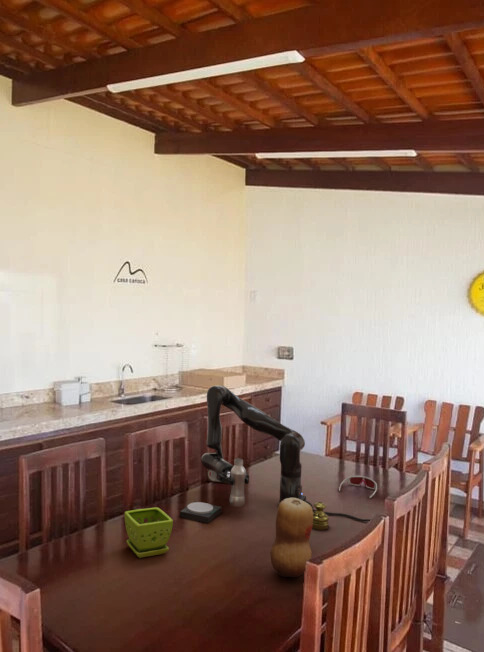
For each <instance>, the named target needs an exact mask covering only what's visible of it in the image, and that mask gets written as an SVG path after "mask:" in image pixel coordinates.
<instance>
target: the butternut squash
mask: <svg viewBox="0 0 484 652" xmlns="http://www.w3.org/2000/svg"><path fill="white" fill-rule="evenodd" d="M313 513H314V512H313V510H312V507H311V506H310V505H309V504H308V503H306V502H305V501H302V500H300V499H297V498H286V499H284V500H283V501H281V503H280V504H279V503H278V507H277V511H276V517H275V538H274V541H273V543H272V546H271V548H270V551H269V555H270V556H269V557H270V563H271V565H272V568H273V569H274V571H275V572H276V573H277V574H278V575H279V576H281V577H285V578H287V577H288V578H298V577H300V576H303V575H305V574H304V571H305V563H306V561H307V560H309V559H311V558H313V557H312V554H313V553H312V549H311V545H310V539H311V534H312V529H313V528H312V526H313Z"/></svg>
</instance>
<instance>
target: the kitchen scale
mask: <svg viewBox="0 0 484 652" xmlns="http://www.w3.org/2000/svg"><path fill="white" fill-rule="evenodd" d="M222 510H223V506H219V505H216V504H210V503H206V502H201V501H196V500H194V501H193V502H191V503H188V505H187V506H185V507H184V508H183V509H181V510H180V511H179V517H180V518H183V519H187V520H192V521H197V522H201V523H205V524H209V523H210V522H212V521H213V520H214V519H216V518H217V517H218V516H219V515H220V514H221V513H222Z"/></svg>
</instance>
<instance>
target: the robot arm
mask: <svg viewBox="0 0 484 652" xmlns="http://www.w3.org/2000/svg"><path fill="white" fill-rule="evenodd" d="M206 405H207V432H206V433H207V435H206V447H207V448H209V449H213V450H214V452H205V453H204V454H202V456H201V459H200V460H201V465H202V466H203V468H204V469H206V470H207V469H208V470H211V471H214V472H215V473H217V480H219V481H221V482H220V483H222V484H229V485H230V486H232V485H234V480H233V479H232V478H231V470H232V468H233V467H234V464H231V463H230V462H229V461H227V460H225V458H224V454H223V447H222V440H223V439H222V437H223V436H222V435H223V426H222V422H221V407H222V406H223V407H225V408H227V409H229V410H231V411H232V412H233V413H234V414H235V415H236V416H237V417H238V418H239V420H241V422H242V423H244V424H245V425H246V426H248V427H249V428H251V429H252V430H255V432H258V433H261V434H265V435H268V436H270V437H273V438H274V439H276V440H277V441H279V442H280V443H279V462H280V463H279V464H280V477H279V479H280V480H279V500H278V502H279V503H278V505H279V504H280V503H281V501H283V500H284V499H286V498H296V492H298V499H300V500H302V501H305V502H306V503H308V504H309V505H310V506H311V507H312V510H313V513H314V512H315V511H316V509H314V505H313V504H312V503H311V502H309V501H308V500H307V496H306V495H303V485H302V471H303V470H302V469H303V464H302V462H301V451H302V450H303V449H304V448H305V445H306V440H305V438H304V436H303V435H302V434H301V433H299V432H298V431H297V430H294V429H292V428H290V427H288V426H286V425H285V424H283V423H281V422H279V421H278V420H276V419H275V418H273V417H272V416H270V415H268V414H267V413H266V412H264V411H263V410H261V409H260V408H258V407H257V406H254V405H253V404H251V403H249V402H248V401H246V400H245V399H243V398H241V397H239V396H238V395H237V394H235V393H234V392H233V391H231V390H230V389H229V388H228V387H226V386H224V385H222V384H221V385H220V384H219V385H212V386H210V387H209V388H208V390H207V391H206ZM225 482H227V483H225ZM244 484H245V485H248V484H250V474H249V473H248V472H247V471H246V477H245V483H244ZM323 512H324V513H325V514H326V515H328V516H329V515H330V516H343V517H347V518H350V519H354V520H356V521H359V522H369V521H370V520H372V519H370V518H359V517H356V516H353V515H350V514H347V513H340V512H331V511H330V512H328V511H323Z"/></svg>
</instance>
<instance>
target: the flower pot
mask: <svg viewBox="0 0 484 652" xmlns="http://www.w3.org/2000/svg"><path fill="white" fill-rule="evenodd" d="M145 520H147V521H146V522H145ZM124 524H125V530H126V534H127V536H128V539H126V541H125V542H126V544H127V545H128V547H129V548H130V549H131V551H133V553H134V554H135V555H136V556H137V557H138V558H139V559H142V558H146V557H152V556H159V555H164V554H165V553H167V552H168V551H169V550H170V549H169V547H168V546H167V543H168V541H169V539H170V538H171V534H172V531H173V525H174V520H173V519H172V517H171V516H169V515H168V514H167V513H166V512H165V511H163V510H162V509H161V508H160V507H157V506H156V507H147V508H139V509H131V510H126V511H124Z"/></svg>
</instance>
